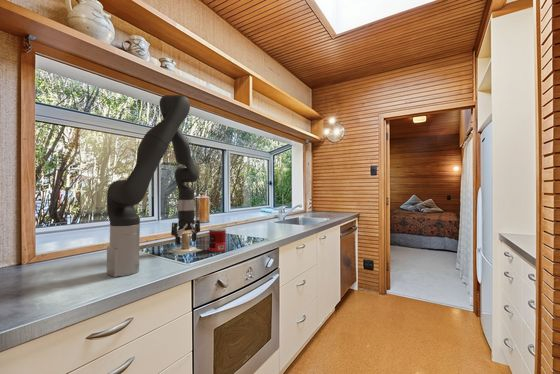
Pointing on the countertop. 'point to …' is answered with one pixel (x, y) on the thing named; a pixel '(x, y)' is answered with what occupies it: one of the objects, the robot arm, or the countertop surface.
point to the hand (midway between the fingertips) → (186, 243)
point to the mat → (183, 253)
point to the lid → (185, 245)
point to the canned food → (217, 239)
